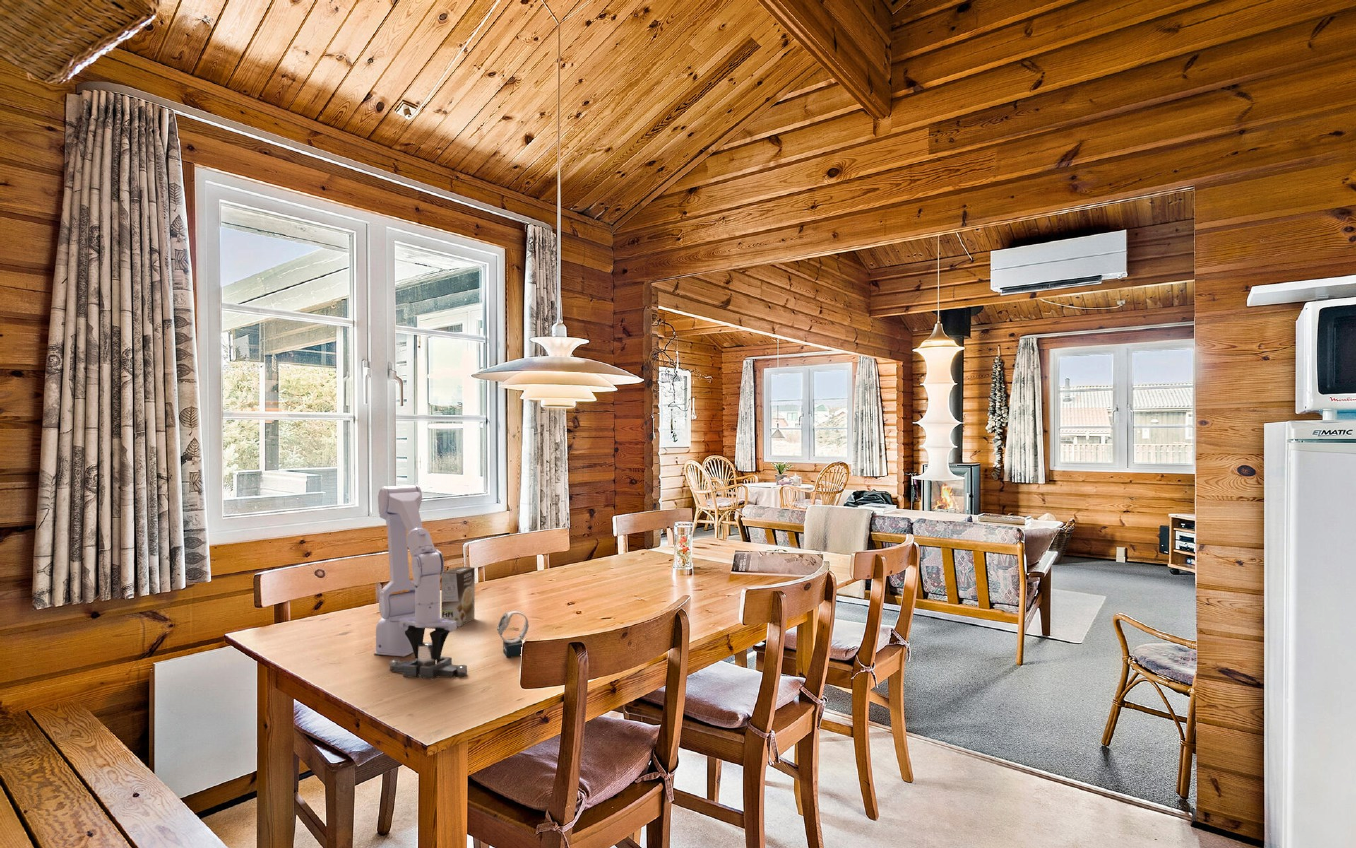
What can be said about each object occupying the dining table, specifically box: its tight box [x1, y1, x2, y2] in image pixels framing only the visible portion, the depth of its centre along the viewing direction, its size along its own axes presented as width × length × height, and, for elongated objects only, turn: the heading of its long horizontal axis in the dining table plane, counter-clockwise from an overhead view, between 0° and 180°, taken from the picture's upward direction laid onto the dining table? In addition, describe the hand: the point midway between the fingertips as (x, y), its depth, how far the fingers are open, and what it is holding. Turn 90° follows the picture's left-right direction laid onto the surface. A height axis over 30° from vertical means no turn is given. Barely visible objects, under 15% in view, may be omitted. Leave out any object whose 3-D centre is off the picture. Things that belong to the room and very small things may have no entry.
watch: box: [496, 610, 530, 659], centre depth 182 cm, size 6×8×11 cm
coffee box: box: [440, 566, 476, 627], centre depth 211 cm, size 9×6×16 cm
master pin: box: [418, 641, 437, 676], centre depth 168 cm, size 4×4×7 cm
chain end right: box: [419, 656, 468, 680], centre depth 167 cm, size 10×8×2 cm
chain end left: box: [389, 658, 420, 678], centre depth 170 cm, size 10×8×2 cm
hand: (427, 658), depth 168 cm, fingers open, 4 cm apart
